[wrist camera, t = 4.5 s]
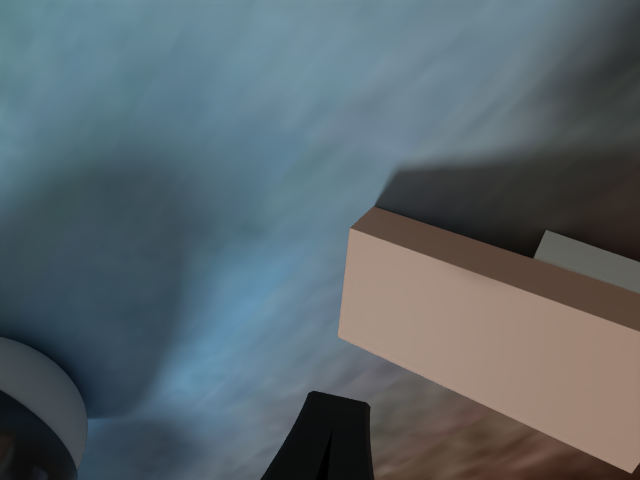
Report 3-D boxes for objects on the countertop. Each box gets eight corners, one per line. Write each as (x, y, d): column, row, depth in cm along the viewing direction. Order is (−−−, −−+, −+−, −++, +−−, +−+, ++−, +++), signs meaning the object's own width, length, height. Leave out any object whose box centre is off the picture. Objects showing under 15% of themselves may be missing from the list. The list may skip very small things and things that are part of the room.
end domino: (373, 206, 15) (709, 317, 12) (358, 310, 18) (633, 429, 14) (349, 227, 14) (715, 359, 10) (337, 336, 16) (631, 473, 13)
